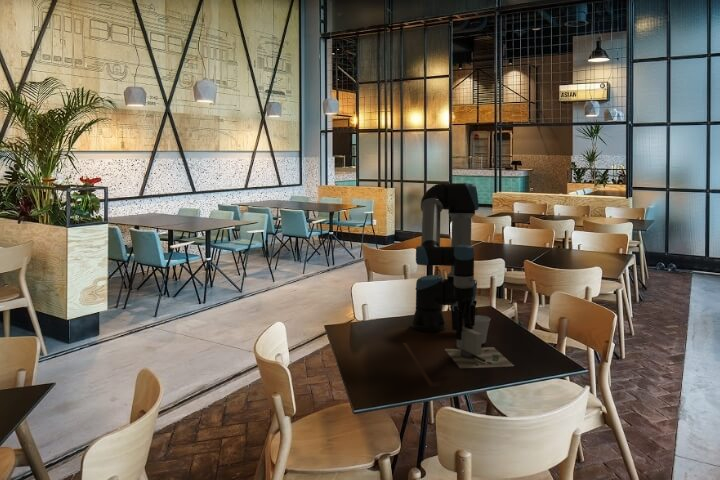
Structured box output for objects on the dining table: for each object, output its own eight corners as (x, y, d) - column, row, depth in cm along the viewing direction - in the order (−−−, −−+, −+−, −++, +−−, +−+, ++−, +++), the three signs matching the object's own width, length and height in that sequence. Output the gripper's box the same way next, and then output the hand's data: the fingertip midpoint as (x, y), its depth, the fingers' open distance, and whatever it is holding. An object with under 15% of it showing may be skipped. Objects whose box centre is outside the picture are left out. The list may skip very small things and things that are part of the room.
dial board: (444, 352, 232) (444, 348, 232) (493, 350, 234) (493, 346, 234) (460, 371, 210) (460, 367, 210) (514, 369, 212) (514, 365, 212)
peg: (452, 352, 227) (452, 327, 226) (465, 350, 230) (465, 325, 229) (478, 364, 214) (478, 337, 213) (491, 361, 217) (491, 335, 215)
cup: (490, 348, 236) (490, 322, 234) (464, 347, 238) (465, 320, 236) (489, 341, 245) (490, 315, 244) (465, 340, 247) (466, 314, 246)
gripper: (458, 291, 215) (457, 353, 218) (484, 284, 226) (484, 343, 229) (442, 288, 220) (442, 349, 223) (469, 281, 231) (468, 339, 234)
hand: (463, 346), depth 226 cm, fingers closed on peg, 3 cm apart
